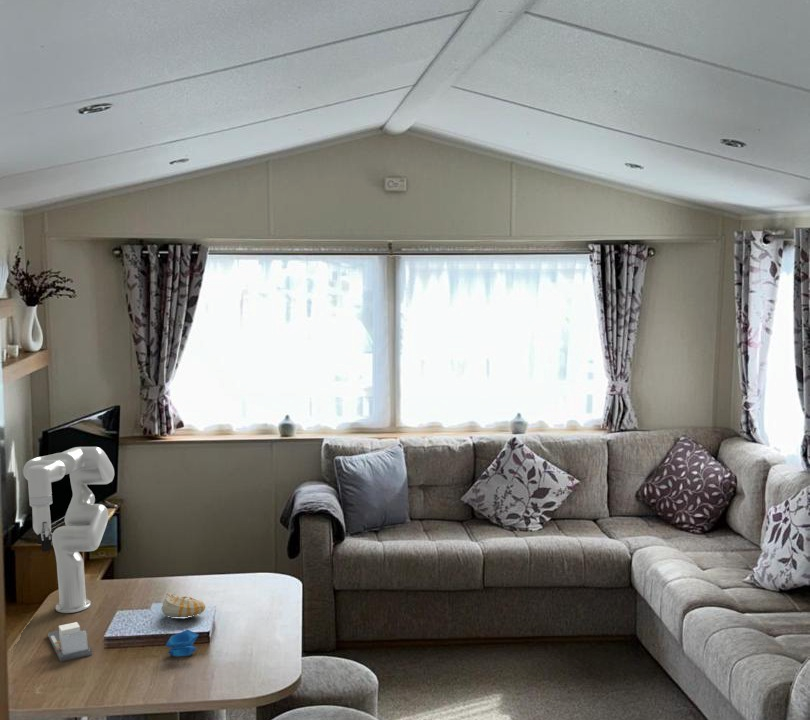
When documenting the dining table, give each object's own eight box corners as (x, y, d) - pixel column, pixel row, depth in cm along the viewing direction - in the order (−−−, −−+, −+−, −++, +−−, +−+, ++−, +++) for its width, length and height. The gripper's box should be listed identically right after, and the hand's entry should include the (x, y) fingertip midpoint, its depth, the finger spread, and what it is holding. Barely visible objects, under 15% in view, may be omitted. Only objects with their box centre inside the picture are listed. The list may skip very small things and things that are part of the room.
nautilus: (151, 612, 356) (190, 605, 364) (169, 627, 337) (210, 620, 345) (151, 591, 355) (190, 584, 363) (168, 605, 337) (209, 598, 345)
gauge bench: (48, 636, 334) (46, 616, 333) (77, 630, 339) (76, 610, 338) (60, 661, 313) (59, 640, 312) (91, 654, 318) (90, 633, 317)
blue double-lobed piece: (162, 632, 318) (197, 621, 319) (170, 655, 320) (205, 645, 321) (160, 641, 311) (196, 630, 312) (167, 665, 312) (203, 654, 313)
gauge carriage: (53, 641, 323) (52, 627, 323) (78, 635, 327) (76, 621, 327) (56, 646, 319) (55, 632, 318) (80, 640, 323) (79, 626, 322)
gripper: (25, 496, 341) (29, 542, 343) (33, 507, 326) (37, 555, 328) (47, 493, 345) (51, 539, 347) (56, 504, 330) (59, 551, 332)
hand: (44, 547), depth 337 cm, fingers open, 9 cm apart
